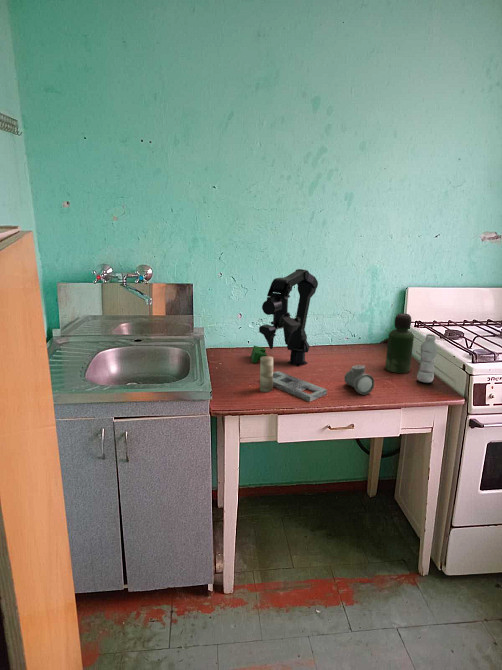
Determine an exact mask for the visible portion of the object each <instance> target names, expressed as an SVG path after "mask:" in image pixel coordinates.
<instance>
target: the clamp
mask: <svg viewBox="0 0 502 670" xmlns="http://www.w3.org/2000/svg"><path fill="white" fill-rule="evenodd" d="M266 351H267V350H266V348H265V347H262V346H257V345H253V347H252V350H251V355H250V358H251V363H253V364H257V363H258V362H260V358H261V357H263V356H268V354H267V352H266Z"/></svg>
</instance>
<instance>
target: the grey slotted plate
mask: <svg viewBox="0 0 502 670" xmlns="http://www.w3.org/2000/svg"><path fill="white" fill-rule="evenodd" d="M273 388H276V389H279V390H281V391H284V392H286V393H289V394H291V395H293V396H296V397H298V398H301V399H302V400H305V401H307V402H312V401H315V400H317V399H320V398H321V397H324V396H327V395H328V389H326V388H324V387H321V386H319V385H316V384H313V383H311V382H308V381H305V380H304V379H301V378H297V377H295V376H292V375H290V374H287V373H285V372H282V371H279V370H277V371H273ZM305 390H309V391H311V392H312V393H307V392H304V391H305Z"/></svg>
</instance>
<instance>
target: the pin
mask: <svg viewBox="0 0 502 670" xmlns="http://www.w3.org/2000/svg"><path fill="white" fill-rule="evenodd" d="M259 362H260V364H259V371H260V372H259V391H260V392H262V393H270V392H273V389H274V386H273V372H274V357H273V356H268V355H267V356H263V357H261V358H260V361H259Z"/></svg>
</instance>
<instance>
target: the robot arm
mask: <svg viewBox="0 0 502 670" xmlns="http://www.w3.org/2000/svg"><path fill="white" fill-rule="evenodd" d="M296 285H297V291H298V295H299V298H298V303H297V309H296V313H295V314H296V315H295V318H294V317H291V313H290V312H289V311H288V308H289V298H290V297H291V296H290V293H291V292H292V291H293V287H294V286H296ZM318 286H319V282H318V280H317V278H316V276H314V275H313V274H312V273H310V272H309V270H307V269H302V268H298V269H296V270H295V271H293V272H291V273H290V274H288V275H287V276H284V277H277V278H274V279H273V280H272V282H271V284H270V287H269V288H268V292H267V296H266V300H265V301H263V303H262V305H261V309H262V312H263V313H264V314H265V315H267V316H272V315H273V316H272V317H273V320H272V321H270V324H262V325H260V326H259V327H258V333H260V334H261V335H263V337H264V338H265V340H266V343H267V344H268V347H269V349H270V350H273V348H274V341H275V340H274V339H275V336H277V334H276V332H277V330H282V329H283V331H282V332H283V337H284V342H285V345H286V346H287V347H286V349H287V350H288V351H290V355H289V356H290V357H289V360H288V361H287V364H290V365H293V366H296V367H301V366H303V365H306V364H308V361H306V353H309V350H310V343H309V342H308V341H307V338H308V336H307V334H306V333H307V332H306V330H305V329H306V326H307V325H306V324H307V318H308V313H309V307H310V303H311V298H312V297H313V296H314V295H315V294H316V290H317V289H318Z"/></svg>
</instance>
